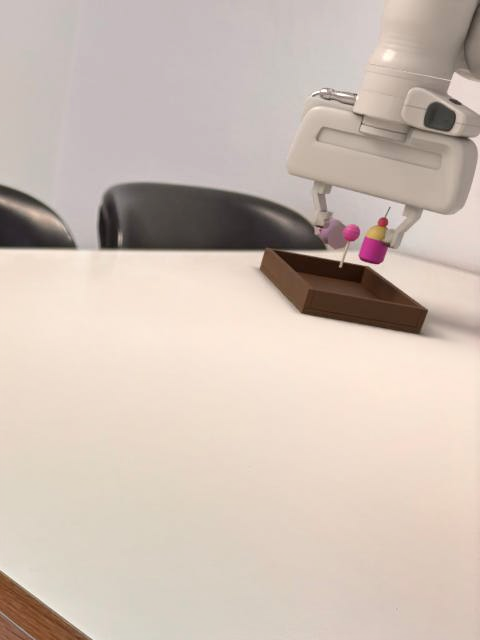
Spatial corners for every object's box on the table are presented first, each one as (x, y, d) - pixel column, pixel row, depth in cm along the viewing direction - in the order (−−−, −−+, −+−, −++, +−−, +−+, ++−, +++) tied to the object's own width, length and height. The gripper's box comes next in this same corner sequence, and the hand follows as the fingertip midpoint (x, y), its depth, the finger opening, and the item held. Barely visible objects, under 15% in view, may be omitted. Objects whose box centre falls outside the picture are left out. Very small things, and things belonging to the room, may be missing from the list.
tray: (361, 287, 134) (369, 266, 133) (419, 334, 116) (428, 310, 115) (259, 268, 133) (265, 247, 132) (301, 312, 115) (309, 288, 114)
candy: (292, 234, 130) (308, 181, 127) (354, 245, 130) (372, 193, 127) (334, 267, 114) (354, 208, 111) (405, 280, 115) (426, 221, 112)
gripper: (298, 82, 117) (261, 214, 124) (482, 121, 107) (430, 263, 114) (322, 85, 121) (284, 213, 128) (499, 123, 111) (449, 259, 119)
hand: (354, 237), depth 121 cm, fingers closed on candy, 7 cm apart
